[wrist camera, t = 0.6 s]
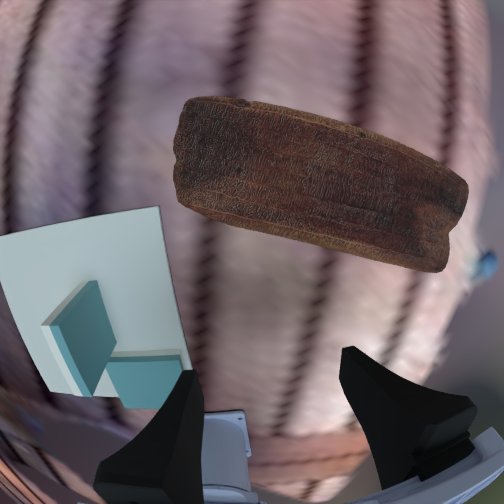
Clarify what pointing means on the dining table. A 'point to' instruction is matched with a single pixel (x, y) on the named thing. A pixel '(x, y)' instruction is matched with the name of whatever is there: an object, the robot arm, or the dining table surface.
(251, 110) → the wooden tablet
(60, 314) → the tile
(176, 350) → the flat tile
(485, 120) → the dining table surface
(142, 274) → the felt mat
